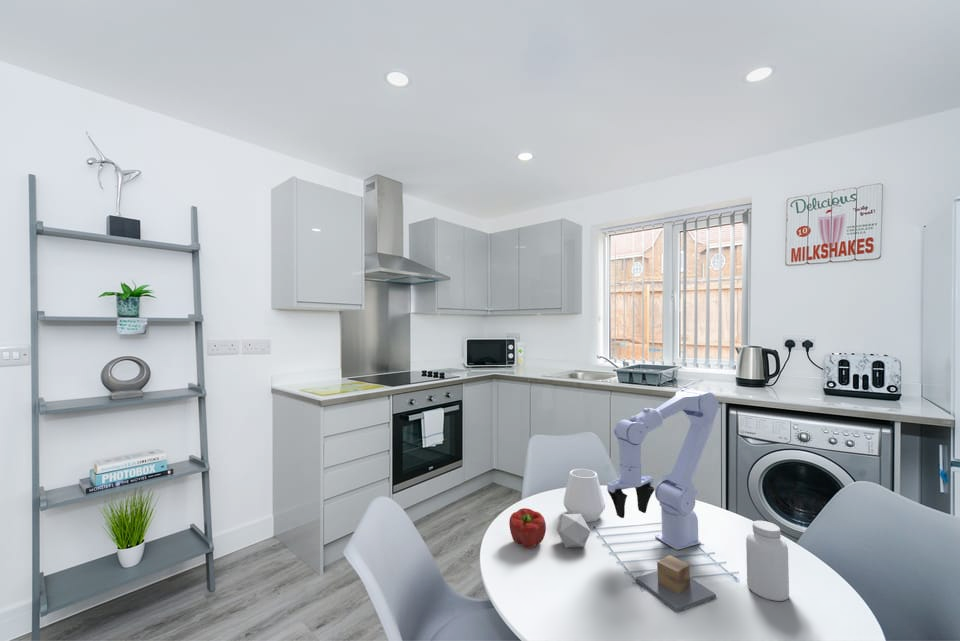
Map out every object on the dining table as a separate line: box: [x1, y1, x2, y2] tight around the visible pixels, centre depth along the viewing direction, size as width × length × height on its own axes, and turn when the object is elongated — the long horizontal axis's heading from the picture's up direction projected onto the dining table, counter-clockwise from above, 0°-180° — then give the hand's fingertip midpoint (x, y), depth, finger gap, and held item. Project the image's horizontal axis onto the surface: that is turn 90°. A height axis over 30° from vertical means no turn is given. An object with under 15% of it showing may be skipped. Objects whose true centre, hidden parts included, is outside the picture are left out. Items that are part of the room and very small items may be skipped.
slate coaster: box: [635, 570, 717, 613], centre depth 95 cm, size 12×12×1 cm
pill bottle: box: [745, 520, 790, 602], centre depth 94 cm, size 8×8×15 cm
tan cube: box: [657, 554, 691, 594], centre depth 95 cm, size 5×5×5 cm
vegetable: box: [508, 507, 547, 549], centre depth 115 cm, size 11×10×10 cm
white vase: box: [563, 468, 606, 523], centre depth 134 cm, size 13×13×14 cm
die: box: [556, 513, 591, 549], centre depth 115 cm, size 8×9×10 cm
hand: (631, 514), depth 112 cm, fingers open, 7 cm apart
